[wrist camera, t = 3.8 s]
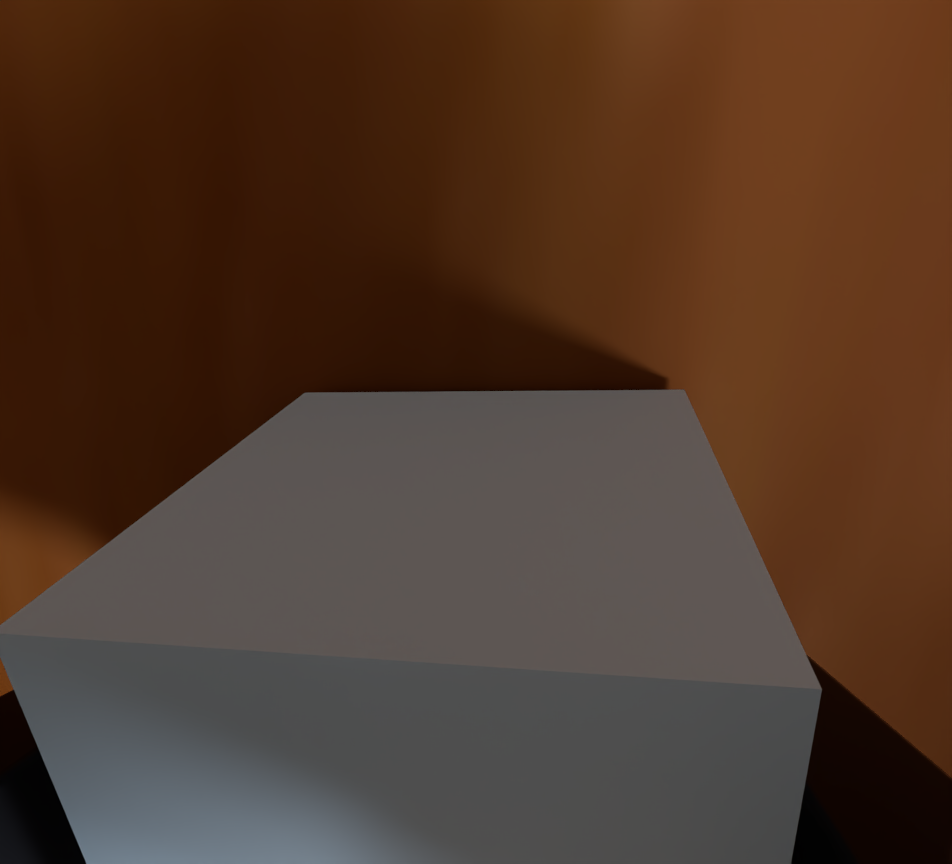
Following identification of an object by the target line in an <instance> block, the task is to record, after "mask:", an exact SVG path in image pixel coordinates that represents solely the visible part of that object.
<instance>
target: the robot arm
mask: <svg viewBox="0 0 952 864" xmlns="http://www.w3.org/2000/svg"><path fill="white" fill-rule="evenodd" d="M806 656H807V658H808V660H809V662H810V664H811V667H812V669H813V671H814V673H815V675H816V677H817V680H818V682H819V684H820V686H821V688H822V692H821V698H820V703H819V709H818V714H817V720H816V726H815V731H814V737H813V742H812V748H811V754H810V759H809V765H808V771H807V776H806V782H805V787H804V793H803V799H802V804H801V810H800V815H799V821H798V827H797V832H796V838H795V844H794V849H793V855H792V860H791V864H952V778H951V777H950V776H949V775H947V774H946V773H945V772H944V771H943V770H942V769H940V768H939V767H938V766H937V765H936V764H935V763H933V762H932V761H931V760H930V759H929V758H927V757H926V756H925V755H924V754H923V753H922V752H920V751H919V750H918V749H917V748H916V747H915V746H913V745H912V744H911V743H910V742H909V741H907V740H906V739H905V738H904V737H903V736H902V735H900V734H899V733H898V732H897V731H896V730H895V729H893V728H892V727H891V726H890V725H889V724H888V723H886V722H885V721H884V720H883V719H882V718H880V717H879V716H878V715H877V714H876V713H875V712H873V711H872V710H871V709H870V708H869V707H868V706H866V705H865V704H864V703H863V702H862V701H860V700H859V699H858V698H857V697H856V696H855V695H853V694H852V693H851V692H850V691H849V690H848V689H846V688H845V687H844V686H843V685H842V684H840V683H839V682H838V681H837V680H836V679H835V678H833V677H832V676H831V675H830V674H829V673H828V672H826V671H825V670H824V669H823V668H822V667H820V666H819V665H818V664H817V663H816V662H815V661H813V660H812V659H811V658H810V657H809V656H808V655H806ZM0 864H86V861H85V859H84V856H83V854H82V852H81V849H80V847H79V845H78V842H77V840H76V837H75V835H74V833H73V830H72V828H71V825H70V823H69V821H68V818H67V816H66V813H65V811H64V809H63V806H62V804H61V801H60V799H59V797H58V794H57V792H56V789H55V787H54V785H53V782H52V780H51V777H50V775H49V773H48V770H47V768H46V765H45V763H44V761H43V758H42V756H41V753H40V751H39V749H38V746H37V744H36V741H35V739H34V737H33V734H32V732H31V729H30V727H29V725H28V722H27V720H26V717H25V715H24V713H23V710H22V708H21V706H20V703H19V701H18V698H17V696H16V694H15V691H14V690H12V691H10V692H8V693H6V694H4V695H2V696H0Z"/></svg>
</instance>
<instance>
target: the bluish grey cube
mask: <svg viewBox="0 0 952 864" xmlns="http://www.w3.org/2000/svg"><path fill="white" fill-rule="evenodd" d="M0 658H1V660H2V662H3V665H4V667H5V670H6V672H7V674H8V677H9V679H10V682H11V684H12V686H13V689H14V691H15V694H16V696H17V698H18V701H19V703H20V706H21V708H22V710H23V713H24V715H25V717H26V720H27V722H28V725H29V727H30V729H31V732H32V734H33V737H34V739H35V741H36V744H37V746H38V749H39V751H40V753H41V756H42V758H43V761H44V763H45V765H46V768H47V770H48V773H49V775H50V777H51V780H52V782H53V785H54V787H55V789H56V792H57V794H58V797H59V799H60V801H61V804H62V806H63V809H64V811H65V813H66V816H67V818H68V821H69V823H70V825H71V828H72V830H73V833H74V835H75V837H76V840H77V842H78V845H79V847H80V849H81V852H82V854H83V856H84V859H85V861H86V864H791V860H792V855H793V849H794V844H795V838H796V832H797V827H798V821H799V815H800V810H801V804H802V799H803V793H804V787H805V782H806V776H807V771H808V765H809V759H810V754H811V748H812V742H813V737H814V731H815V726H816V720H817V714H818V709H819V703H820V698H821V692H822V688H821V686H820V684H819V682H818V680H817V677H816V675H815V673H814V671H813V669H812V667H811V664H810V662H809V660H808V658H807V656H806V653H805V651H804V649H803V647H802V645H801V643H800V640H799V638H798V636H797V634H796V632H795V630H794V627H793V625H792V623H791V621H790V619H789V616H788V614H787V612H786V610H785V608H784V606H783V603H782V601H781V599H780V597H779V595H778V593H777V590H776V588H775V586H774V584H773V582H772V579H771V577H770V575H769V573H768V571H767V569H766V566H765V564H764V562H763V560H762V558H761V555H760V553H759V551H758V549H757V547H756V545H755V542H754V540H753V538H752V536H751V534H750V532H749V529H748V527H747V525H746V523H745V521H744V518H743V516H742V514H741V512H740V510H739V508H738V505H737V503H736V501H735V499H734V497H733V495H732V492H731V490H730V488H729V486H728V484H727V481H726V479H725V477H724V475H723V473H722V471H721V468H720V466H719V464H718V462H717V460H716V458H715V455H714V453H713V451H712V449H711V447H710V444H709V442H708V440H707V438H706V436H705V434H704V431H703V429H702V427H701V425H700V423H699V420H698V418H697V416H696V414H695V412H694V410H693V407H692V405H691V403H690V401H689V399H688V397H687V394H686V392H685V390H575V391H445V392H315V393H304V394H302V395H301V396H300V397H298V398H297V399H296V400H295V401H293V402H292V403H291V404H289V405H288V406H287V407H285V408H284V409H283V410H281V411H280V412H279V413H277V414H276V415H275V416H274V417H272V418H271V419H270V420H268V421H267V422H266V423H264V424H263V425H262V426H260V427H259V428H258V429H257V430H255V431H254V432H253V433H251V434H250V435H249V436H247V437H246V438H245V439H243V440H242V441H241V442H240V443H238V444H237V445H236V446H234V447H233V448H232V449H230V450H229V451H228V452H226V453H225V454H224V455H223V456H221V457H220V458H219V459H217V460H216V461H215V462H213V463H212V464H211V465H209V466H208V467H207V468H205V469H204V470H203V471H202V472H200V473H199V474H198V475H196V476H195V477H194V478H192V479H191V480H190V481H188V482H187V483H186V484H185V485H183V486H182V487H181V488H179V489H178V490H177V491H175V492H174V493H173V494H171V495H170V496H169V497H168V498H166V499H165V500H164V501H162V502H161V503H160V504H158V505H157V506H156V507H154V508H153V509H152V510H151V511H149V512H148V513H147V514H145V515H144V516H143V517H141V518H140V519H139V520H137V521H136V522H135V523H133V524H132V525H131V526H130V527H128V528H127V529H126V530H124V531H123V532H122V533H120V534H119V535H118V536H116V537H115V538H114V539H113V540H111V541H110V542H109V543H107V544H106V545H105V546H103V547H102V548H101V549H99V550H98V551H97V552H96V553H94V554H93V555H92V556H90V557H89V558H88V559H86V560H85V561H84V562H82V563H81V564H80V565H79V566H77V567H76V568H75V569H73V570H72V571H71V572H69V573H68V574H67V575H65V576H64V577H63V578H61V579H60V580H59V581H58V582H56V583H55V584H54V585H52V586H51V587H50V588H48V589H47V590H46V591H44V592H43V593H42V594H41V595H39V596H38V597H37V598H35V599H34V600H33V601H31V602H30V603H29V604H27V605H26V606H25V607H24V608H22V609H21V610H20V611H18V612H17V613H16V614H14V615H13V616H12V617H10V618H9V619H8V620H7V621H5V622H4V623H3V624H1V625H0Z"/></svg>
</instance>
